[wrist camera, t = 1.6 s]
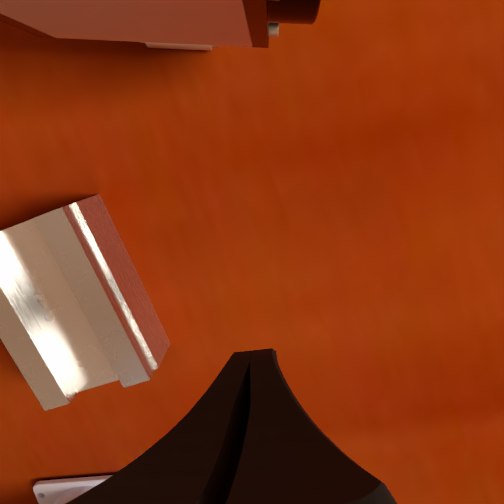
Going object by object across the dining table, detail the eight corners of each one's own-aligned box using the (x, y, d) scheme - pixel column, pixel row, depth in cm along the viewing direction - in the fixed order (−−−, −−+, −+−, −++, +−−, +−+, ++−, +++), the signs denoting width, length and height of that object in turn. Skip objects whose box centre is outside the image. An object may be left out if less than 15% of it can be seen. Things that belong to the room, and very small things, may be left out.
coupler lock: (171, 340, 24) (153, 379, 20) (76, 369, 25) (42, 411, 21) (101, 192, 22) (65, 205, 18) (-2, 232, 23) (-57, 252, 19)
